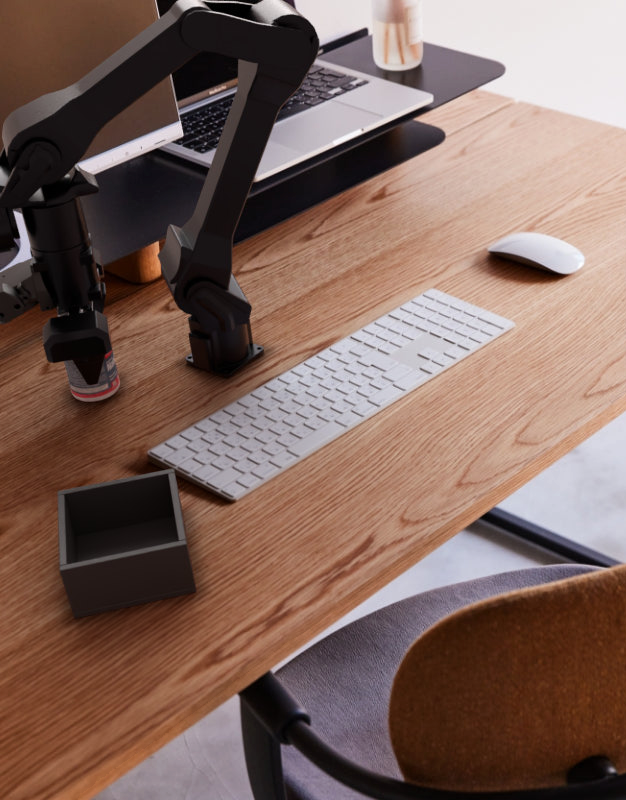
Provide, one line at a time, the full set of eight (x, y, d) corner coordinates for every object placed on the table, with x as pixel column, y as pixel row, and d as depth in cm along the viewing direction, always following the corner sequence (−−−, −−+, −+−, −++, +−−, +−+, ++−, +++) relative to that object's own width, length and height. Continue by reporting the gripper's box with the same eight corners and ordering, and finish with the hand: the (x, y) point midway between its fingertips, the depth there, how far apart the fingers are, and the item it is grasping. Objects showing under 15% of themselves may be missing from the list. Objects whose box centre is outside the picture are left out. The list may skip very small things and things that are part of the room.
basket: (70, 538, 97) (57, 491, 93) (183, 514, 98) (173, 468, 95) (74, 619, 89) (59, 570, 85) (196, 592, 90) (186, 544, 87)
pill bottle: (123, 397, 114) (106, 327, 109) (73, 407, 113) (54, 336, 108) (118, 371, 118) (102, 302, 113) (70, 380, 117) (52, 311, 112)
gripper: (-21, 211, 111) (15, 338, 120) (-30, 298, 96) (13, 434, 106) (87, 195, 113) (115, 321, 122) (95, 278, 98) (126, 413, 107)
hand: (91, 369), depth 114 cm, fingers closed on pill bottle, 5 cm apart
